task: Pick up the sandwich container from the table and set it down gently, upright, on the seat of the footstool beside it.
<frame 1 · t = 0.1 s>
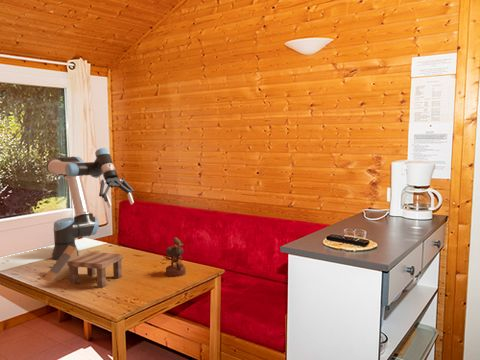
hand: (121, 205, 231), 36 cm above the table, tool tilted 35°, fingers open, 13 cm apart
sandwich container: (60, 277, 220), on the table
stool: (96, 280, 214), on the table
small figurine: (174, 273, 224), on the table
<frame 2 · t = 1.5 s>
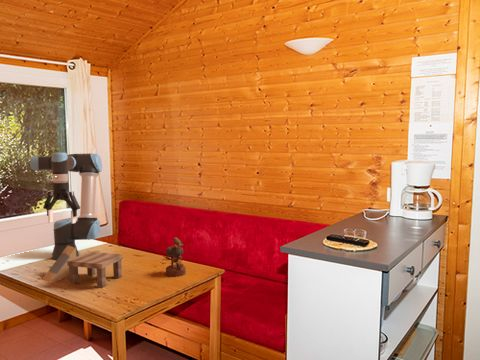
hand: (62, 222, 218), 29 cm above the table, tool pointing down, fingers open, 13 cm apart
nothing on the table moved.
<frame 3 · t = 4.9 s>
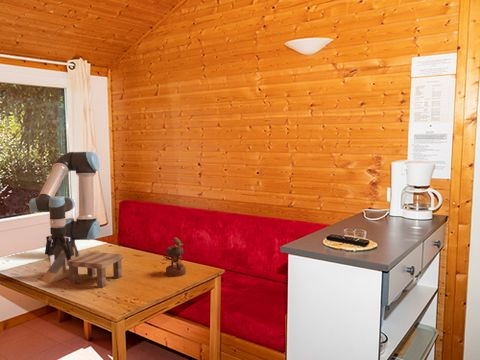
hand: (60, 268, 220), 5 cm above the table, tool pointing down, fingers closed on sandwich container, 9 cm apart
sandwich container: (58, 277, 220), on the table, touching gripper
everything else where it was.
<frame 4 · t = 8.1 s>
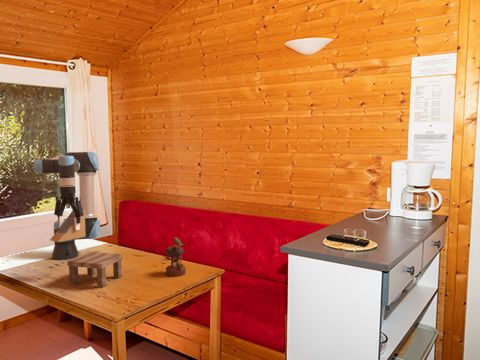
hand: (69, 229, 215), 26 cm above the table, tool pointing down, fingers closed on sandwich container, 9 cm apart
sandwich container: (67, 238, 215), point 21 cm above the table, touching gripper
everything else where it was.
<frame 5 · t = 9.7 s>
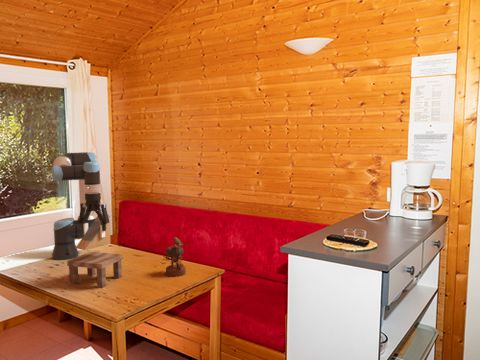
hand: (94, 236, 212), 23 cm above the table, tool pointing down, fingers closed on sandwich container, 9 cm apart
sandwich container: (92, 246, 211), point 18 cm above the table, touching gripper
everything else where it was.
when the fingers open (18 cm above the table, at t = 11.2 s): sandwich container drops 1 cm, resting on stool.
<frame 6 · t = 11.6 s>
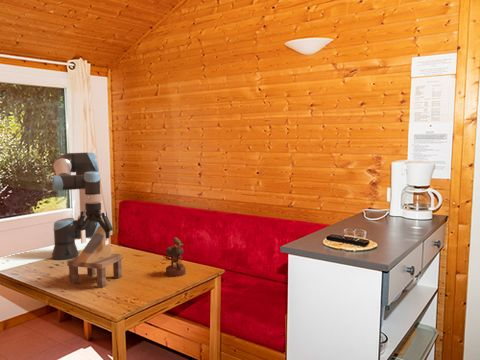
hand: (94, 243, 212), 19 cm above the table, tool pointing down, fingers open, 13 cm apart
sandwich container: (93, 258, 212), point 12 cm above the table, touching stool
everything else where it was.
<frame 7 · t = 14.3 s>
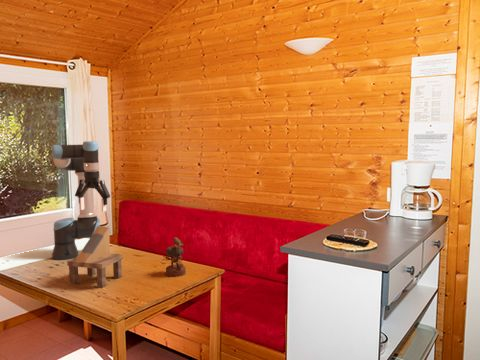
hand: (93, 210, 222), 34 cm above the table, tool pointing down, fingers open, 13 cm apart
nothing on the table moved.
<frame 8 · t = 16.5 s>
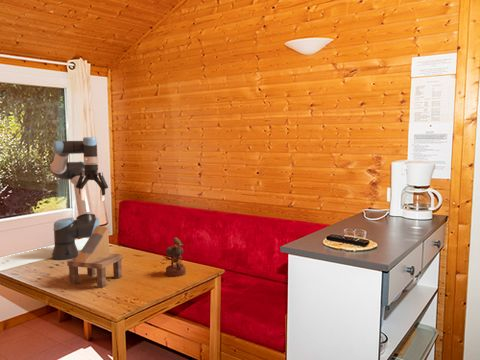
hand: (92, 200, 243), 37 cm above the table, tool pointing down, fingers open, 13 cm apart
nothing on the table moved.
at the end: sandwich container inside the target area on the stool (1.8 cm from its centre), point 11.8 cm above the stool's base; sandwich container tilted 0°; the gripper is holding nothing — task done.
